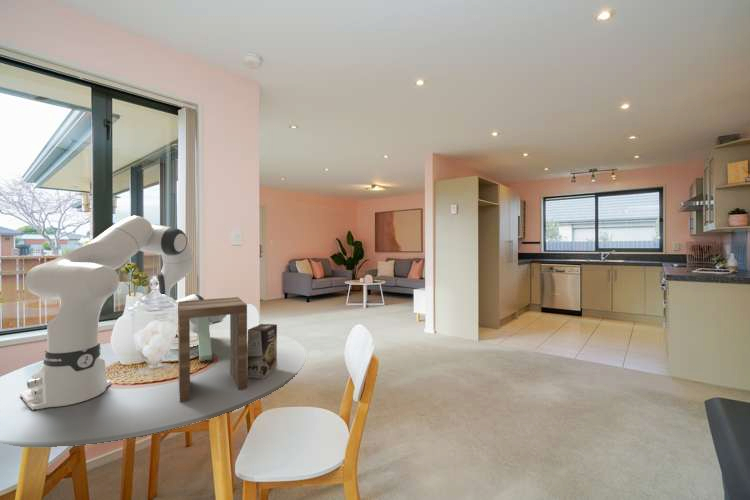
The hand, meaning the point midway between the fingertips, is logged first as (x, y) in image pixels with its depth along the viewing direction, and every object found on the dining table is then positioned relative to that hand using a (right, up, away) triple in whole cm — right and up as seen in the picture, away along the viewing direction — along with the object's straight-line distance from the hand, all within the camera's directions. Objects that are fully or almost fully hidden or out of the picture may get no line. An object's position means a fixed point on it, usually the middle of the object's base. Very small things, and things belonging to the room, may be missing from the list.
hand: (202, 305), depth 135 cm
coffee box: (+30, -21, -18) cm, 41 cm away
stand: (+17, -20, -28) cm, 39 cm away
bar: (-1, -11, +1) cm, 11 cm away
